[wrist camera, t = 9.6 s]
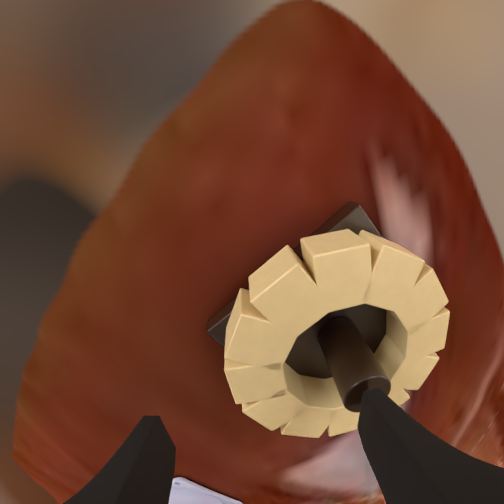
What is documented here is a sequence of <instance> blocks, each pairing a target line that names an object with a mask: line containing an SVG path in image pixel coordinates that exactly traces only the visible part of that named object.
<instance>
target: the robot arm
mask: <svg viewBox="0 0 504 504" xmlns="http://www.w3.org/2000/svg"><path fill="white" fill-rule="evenodd" d="M357 427H358V431H359V434H360V438H361V442H362V445H363V448H364V451H365V453H366V456H367V458H368V460H369V463H370V465H371V467H372V470H373V472H374V474H375V476H376V479H377V481H378V483H379V486H380V488H381V490H382V493H383V495H384V498H385V501H386V504H504V468H501V467H498V466H495V465H492V464H489V463H487V462H484V461H481V460H479V459H476V458H474V457H472V456H470V455H468V454H466V453H464V452H462V451H460V450H458V449H456V448H454V447H453V446H451V445H449V444H448V443H446V442H444V441H443V440H441V439H440V438H438V437H437V436H436V435H434V434H433V433H431V432H430V431H429V430H427V429H426V428H425V427H423V426H422V425H421V424H419V423H418V422H417V421H416V420H415V419H413V418H412V417H411V416H410V415H408V414H407V413H406V412H405V411H404V410H403V409H402V408H400V407H399V406H398V405H397V404H396V403H395V402H394V401H393V400H392V399H391V398H390V397H388V396H387V395H386V394H385V393H384V392H383V391H382V390H381V389H380V388H376V389H373V390H369V391H365V392H363V395H362V402H361V408H360V414H359V420H358V425H357ZM175 450H176V447H175V446H174V444H173V442H172V440H171V438H170V436H169V434H168V432H167V430H166V428H165V426H164V424H163V422H162V420H161V418H160V416H143V417H142V419H141V420H140V421H139V423H138V424H137V425H136V427H135V428H134V429H133V431H132V432H131V433H130V435H129V436H128V437H127V439H126V440H125V441H124V443H123V444H122V445H121V447H120V448H119V449H118V450H117V452H116V453H115V454H114V455H113V457H112V458H111V459H110V460H109V461H108V463H107V464H106V465H105V466H104V467H103V468H102V469H101V470H100V471H99V473H98V474H97V475H96V476H95V477H94V478H93V479H92V480H91V481H90V482H89V483H88V484H87V485H86V486H84V487H83V488H82V489H81V490H80V491H79V492H78V493H76V494H75V495H74V496H73V497H71V498H70V499H69V500H67V501H66V502H65V503H63V504H243V503H242V502H240V501H237V500H235V499H232V498H229V497H227V496H224V495H222V494H219V493H217V492H214V491H212V490H210V489H207V488H205V487H203V486H200V485H198V484H196V483H194V482H192V481H190V480H187V479H185V478H183V477H177V478H174V479H173V476H174V470H175Z"/></svg>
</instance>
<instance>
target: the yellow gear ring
mask: <svg viewBox="0 0 504 504" xmlns="http://www.w3.org/2000/svg"><path fill="white" fill-rule="evenodd" d="M300 242H301V249H302V255H303V262H304V263H303V262H302V260H301V259H300V258H299V257H298V256H297V255H296V253H295V252H294V251H293V250H292V249H291V248H290V247H289V246H288V245H286V246H285V247H284V248H283V249H281V250H280V251H279V252H278V253H277V254H275V255H274V256H273V257H272V258H271V259H269V260H268V261H267V262H266V263H265V264H263V265H262V266H261V267H260V268H259V269H257V270H256V271H255V272H254V273H253V274H251V275H250V276H249V278H248V279H249V290H246V289H243V288H241V289H240V290H239V293H238V296H237V299H236V301H235V304H234V307H233V310H232V313H231V316H230V318H229V321H228V324H227V327H226V338H225V353H224V358H225V364H224V371H225V374H226V377H227V380H228V383H229V386H230V389H231V392H232V395H233V397H234V400H235V403H236V404H242V412H243V413H245V414H246V415H248V416H249V417H251V418H252V419H254V420H255V421H257V422H258V423H260V424H261V425H263V426H264V427H266V428H268V429H269V430H271V431H273V430H275V429H277V428H279V427H280V428H281V434H284V435H293V436H303V437H315V438H319V437H320V436H321V435H322V433H323V432H324V431H325V429H326V428H327V431H328V434H329V436H334V435H338V434H342V433H345V432H349V431H352V430H356V429H358V427H357V425H358V420H359V414H360V412H359V413H356V412H351V411H349V410H347V409H346V408H345V407H344V405H343V403H342V400H341V397H340V395H339V392H338V390H337V387H336V385H335V382H334V379H333V377H331V378H327V379H321V378H315V377H309V376H304V375H299V374H298V373H297V372H295V371H294V370H293V369H292V368H291V367H290V366H289V365H287V364H286V363H285V360H286V359H287V357H288V355H289V353H290V350H291V348H292V346H293V344H294V342H295V340H296V338H297V336H299V335H300V334H302V333H303V332H304V331H306V330H307V329H308V328H309V327H311V326H312V325H313V324H315V323H316V322H317V321H319V320H320V319H321V318H323V317H324V316H325V315H326V314H328V313H329V312H333V311H338V310H342V309H346V308H350V307H354V306H358V305H361V304H368V305H372V306H375V307H379V308H382V309H386V310H387V317H386V334H385V336H384V338H383V340H382V341H381V343H380V345H379V346H378V348H377V350H376V352H375V353H374V355H375V357H376V358H377V360H378V362H379V363H380V365H381V366H382V368H383V370H384V371H385V373H386V375H387V376H388V378H389V380H390V382H391V390H390V393H389V395H388V397H390V398H391V399H392V400H393V401H394V402H395V403H396V404H397V405H398V406H400V405H401V404H403V403H404V402H405V401H407V400H408V399H409V398H410V396H409V395H408V393H407V392H406V390H405V389H408V390H418V389H419V388H420V386H421V385H422V384H423V382H424V381H425V379H426V378H427V376H428V375H429V374H430V372H431V371H432V369H433V368H434V366H435V365H436V363H437V361H438V360H439V357H438V356H437V354H436V353H435V352H437V351H439V350H442V349H444V346H445V341H446V335H447V329H448V322H449V315H450V311H449V310H447V309H446V308H445V307H444V306H445V305H446V304H447V303H448V302H449V301H448V299H447V297H446V295H445V292H444V290H443V288H442V286H441V284H440V282H439V280H438V278H437V276H436V274H435V272H434V270H433V269H432V268H431V267H429V266H428V265H426V264H425V261H424V260H422V259H421V258H419V257H418V256H416V255H415V254H413V253H411V252H410V251H408V250H407V249H405V248H403V247H402V246H400V245H398V244H396V243H394V242H391V241H389V240H386V239H384V238H382V237H379V236H377V235H374V234H372V233H369V232H367V231H364V230H361V231H360V233H359V236H358V235H357V234H355V233H354V232H352V231H351V230H349V229H344V230H339V231H334V232H329V233H324V234H319V235H314V236H309V237H304V238H301V240H300Z"/></svg>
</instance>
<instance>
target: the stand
mask: <svg viewBox="0 0 504 504" xmlns="http://www.w3.org/2000/svg"><path fill="white" fill-rule="evenodd" d="M344 229H349V230H351V231H352V232H354V233H355V234H357V235H358V236H359V233H360V231H361V230H364V231H367V232H369V233H372V234H374V235H377V236H379V237H382V236H381V235H380V233H379V232H378V230H377V229H376V227H375V226H374V224H373V223H372V221H371V220H370V219H369V217H368V216H367V214H366V213H365V211H364V210H363V209H362V207H361V206H360V205H358V204H356V203H353V202H351V201H350V202H349V203H348V204H347V205H345V206H344V207H343V208H342V209H341V210H340V211H338V212H337V213H336V214H335V215H334V216H333V217H331V218H330V219H329V220H328V221H327V222H326V223H325V224H323V225H322V226H321V227H320V228H319V229H318V230H316V231H315V232H314V233H313V234H312V235H310V236H314V235H319V234H324V233H329V232H334V231H339V230H344ZM293 251H294V252H295V253H296V255H297V256H298V257H299V258H300V259H301V260H302V262H303V255H302V249H301V244H300V245H299V246H298V247H296V248H295V249H294V250H293ZM303 263H304V262H303ZM246 290H249V287H248V288H247V289H246ZM236 299H237V297H236V298H235V299H234V300H233V301H231V302H230V303H229V304H228V305H226V306H225V307H224V308H223V309H221V310H220V311H219V312H218V313H217V314H215V315H214V316H213V317H212V318H210V319H209V321H208V327H207V333H208V334H209V335H210V336H212V337H213V338H214V339H215V340H216V341H217V342H218V343H220V344H221V345H222V346H223V347H224V348H225V338H226V327H227V324H228V321H229V318H230V316H231V313H232V310H233V307H234V304H235V301H236ZM386 317H387V310H386V309H382V308H379V307H375V306H372V305H368V304H361V305H358V306H354V307H350V308H346V309H342V310H338V311H333V312H329V313H328V314H326V315H325V316H324V317H323V318H321V319H320V320H319V321H317V322H316V323H315V324H313V325H312V326H311V327H309V328H308V329H307V330H306V331H304V332H303V333H302V334H300V335H299V336H297V338H296V340H295V342H294V344H293V346H292V348H291V350H290V353H289V355H288V357H287V359H286V360H285V363H286V364H287V365H289V366H290V367H291V368H292V369H293V370H294V371H295V372H297V373H298V374H299V375H304V376H309V377H315V378H321V379H327V378H331V377H333V379H334V382H335V385H336V387H337V390H338V392H339V395H340V397H341V400H342V403H343V405H344V407H345V408H346V409H347V410H349V411H351V412H356V413H359V412H360V408H361V402H362V395H363V392H365V391H369V390H373V389H376V388H380V389H381V390H382V391H383V392H384V393H385V394H386V395H387V396H388V395H389V393H390V390H391V382H390V380H389V378H388V376H387V375H386V373H385V371H384V370H383V368H382V366H381V365H380V363H379V362H378V360H377V358H376V357H375V355H374V353H375V352H376V350H377V348H378V346H379V345H380V343H381V341H382V340H383V338H384V336H385V334H386Z"/></svg>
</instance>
